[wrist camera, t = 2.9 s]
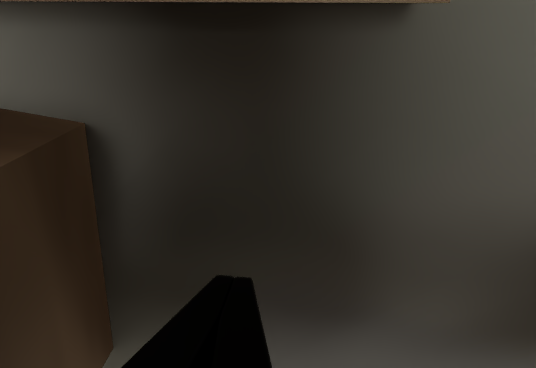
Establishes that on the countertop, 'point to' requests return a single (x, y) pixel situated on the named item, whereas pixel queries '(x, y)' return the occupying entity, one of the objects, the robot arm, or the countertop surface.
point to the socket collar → (278, 0)
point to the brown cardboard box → (49, 247)
